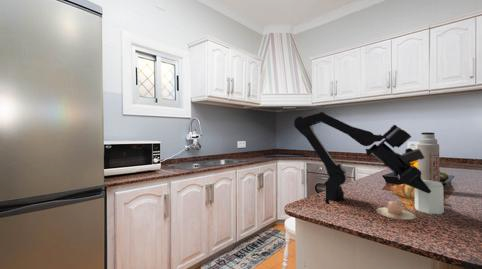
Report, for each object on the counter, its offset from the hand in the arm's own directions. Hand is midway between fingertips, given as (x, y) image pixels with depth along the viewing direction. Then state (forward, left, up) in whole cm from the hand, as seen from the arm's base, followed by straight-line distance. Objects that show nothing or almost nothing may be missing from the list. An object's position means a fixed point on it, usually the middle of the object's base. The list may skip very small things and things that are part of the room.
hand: (426, 189), depth 77 cm
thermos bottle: (+16, +35, -9) cm, 39 cm away
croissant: (+4, +20, -9) cm, 22 cm away
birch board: (-11, -6, -8) cm, 15 cm away
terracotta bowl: (-11, -6, -7) cm, 15 cm away
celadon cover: (+1, 0, -8) cm, 8 cm away
